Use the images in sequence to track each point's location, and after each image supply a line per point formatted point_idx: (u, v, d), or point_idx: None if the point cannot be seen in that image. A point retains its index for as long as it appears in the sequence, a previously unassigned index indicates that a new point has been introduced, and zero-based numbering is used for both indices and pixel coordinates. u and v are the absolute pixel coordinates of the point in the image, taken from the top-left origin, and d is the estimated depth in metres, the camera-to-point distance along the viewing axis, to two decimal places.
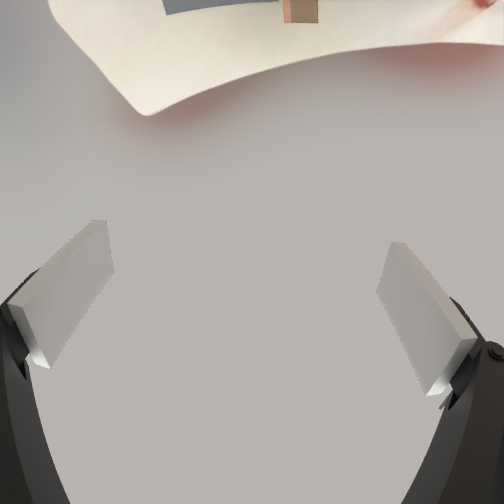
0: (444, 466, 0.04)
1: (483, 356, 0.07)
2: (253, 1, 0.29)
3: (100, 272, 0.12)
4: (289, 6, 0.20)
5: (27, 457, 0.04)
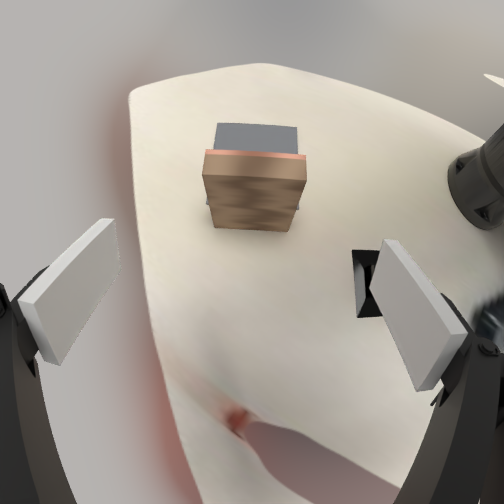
0: (436, 464, 0.04)
1: (473, 352, 0.07)
2: None
3: (108, 270, 0.13)
4: (222, 153, 0.29)
5: (35, 457, 0.04)
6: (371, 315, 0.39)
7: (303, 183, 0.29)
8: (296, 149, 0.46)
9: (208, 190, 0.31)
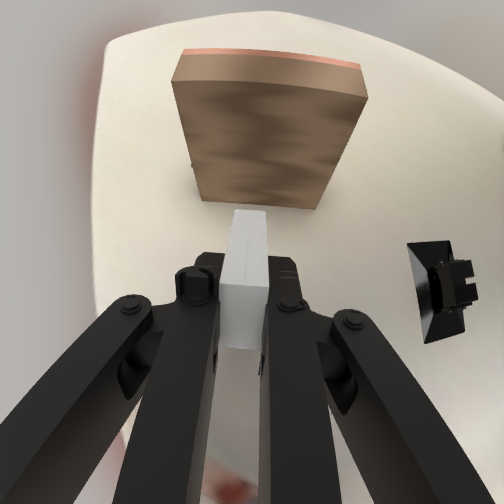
0: (266, 450, 0.05)
1: (272, 314, 0.08)
2: None
3: None
4: (212, 53, 0.14)
5: (193, 470, 0.04)
6: (441, 337, 0.23)
7: (361, 104, 0.14)
8: None
9: (185, 120, 0.16)
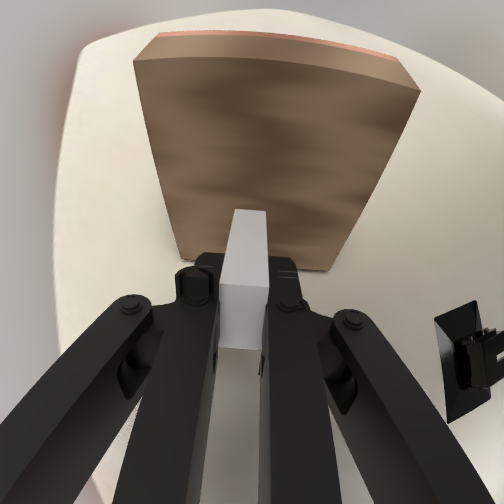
0: (267, 450, 0.05)
1: (271, 314, 0.08)
2: None
3: None
4: (197, 34, 0.09)
5: (193, 471, 0.04)
6: (466, 409, 0.18)
7: (410, 102, 0.09)
8: None
9: (153, 130, 0.11)
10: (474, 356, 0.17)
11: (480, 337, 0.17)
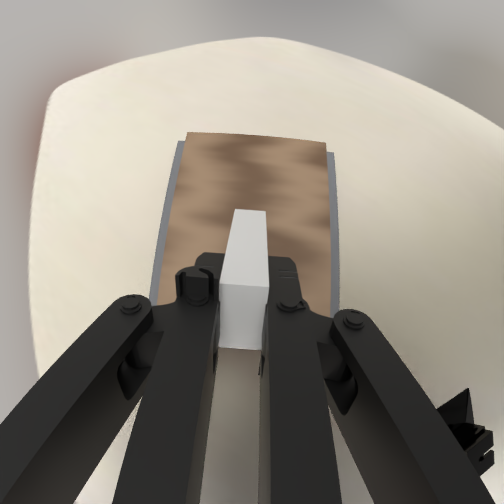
0: (267, 450, 0.05)
1: (272, 314, 0.08)
2: (153, 281, 0.20)
3: None
4: None
5: (193, 470, 0.04)
6: None
7: (323, 149, 0.20)
8: (335, 202, 0.23)
9: (183, 169, 0.20)
10: None
11: (467, 441, 0.15)
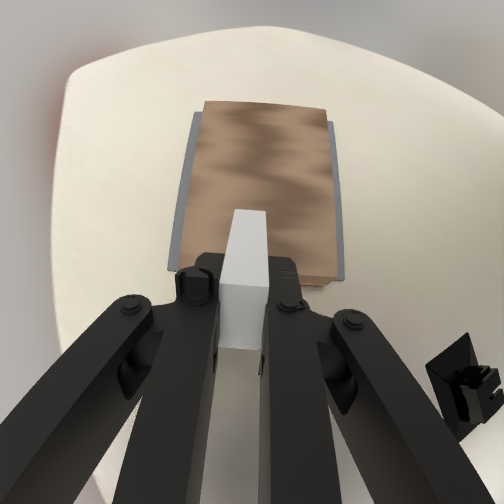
0: (266, 450, 0.05)
1: (272, 314, 0.08)
2: (174, 228, 0.23)
3: None
4: None
5: (193, 471, 0.04)
6: (468, 432, 0.18)
7: (323, 114, 0.23)
8: (335, 161, 0.25)
9: (202, 129, 0.22)
10: (470, 398, 0.17)
11: (474, 380, 0.17)
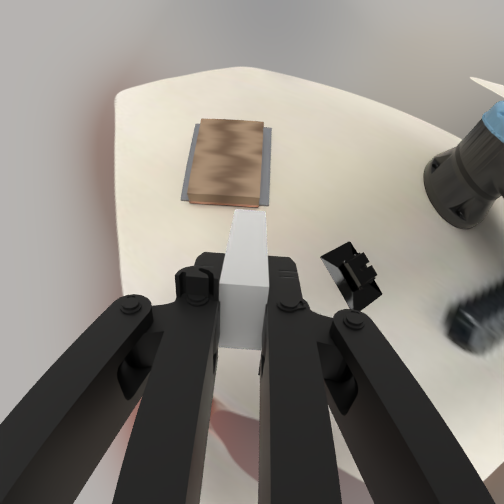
0: (266, 450, 0.05)
1: (271, 314, 0.08)
2: (185, 181, 0.45)
3: None
4: None
5: (193, 470, 0.04)
6: (365, 303, 0.41)
7: (262, 124, 0.45)
8: (269, 149, 0.48)
9: (200, 133, 0.44)
10: (348, 270, 0.39)
11: (348, 259, 0.40)
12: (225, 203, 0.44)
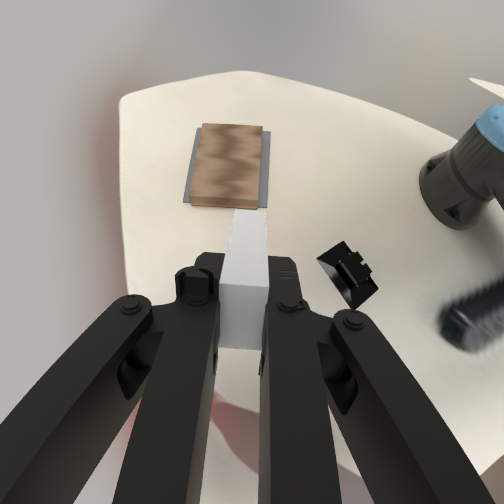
0: (267, 450, 0.05)
1: (272, 314, 0.08)
2: (187, 183, 0.47)
3: None
4: None
5: (193, 471, 0.04)
6: (362, 299, 0.43)
7: (261, 129, 0.47)
8: (268, 152, 0.50)
9: (201, 138, 0.47)
10: (344, 270, 0.41)
11: (343, 259, 0.42)
12: (225, 205, 0.46)
